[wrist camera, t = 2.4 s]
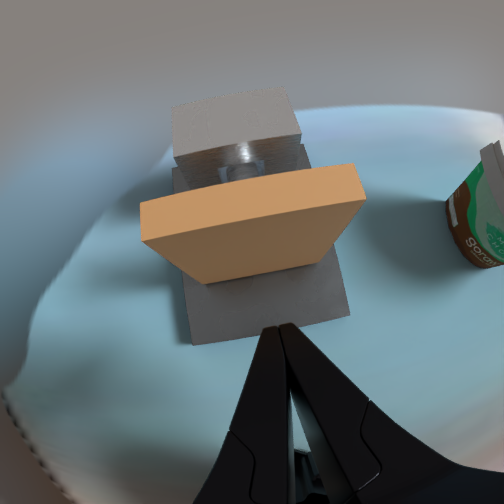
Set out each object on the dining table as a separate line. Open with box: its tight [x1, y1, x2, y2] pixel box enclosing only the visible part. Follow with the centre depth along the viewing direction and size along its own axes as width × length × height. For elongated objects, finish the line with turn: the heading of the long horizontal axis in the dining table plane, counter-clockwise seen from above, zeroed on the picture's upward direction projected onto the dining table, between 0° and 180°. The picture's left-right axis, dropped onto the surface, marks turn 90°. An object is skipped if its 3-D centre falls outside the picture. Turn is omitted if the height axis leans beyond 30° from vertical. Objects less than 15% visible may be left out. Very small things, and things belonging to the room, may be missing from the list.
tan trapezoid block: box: [140, 162, 367, 284], centre depth 15 cm, size 6×8×10 cm
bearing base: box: [172, 87, 350, 346], centre depth 18 cm, size 14×11×8 cm
